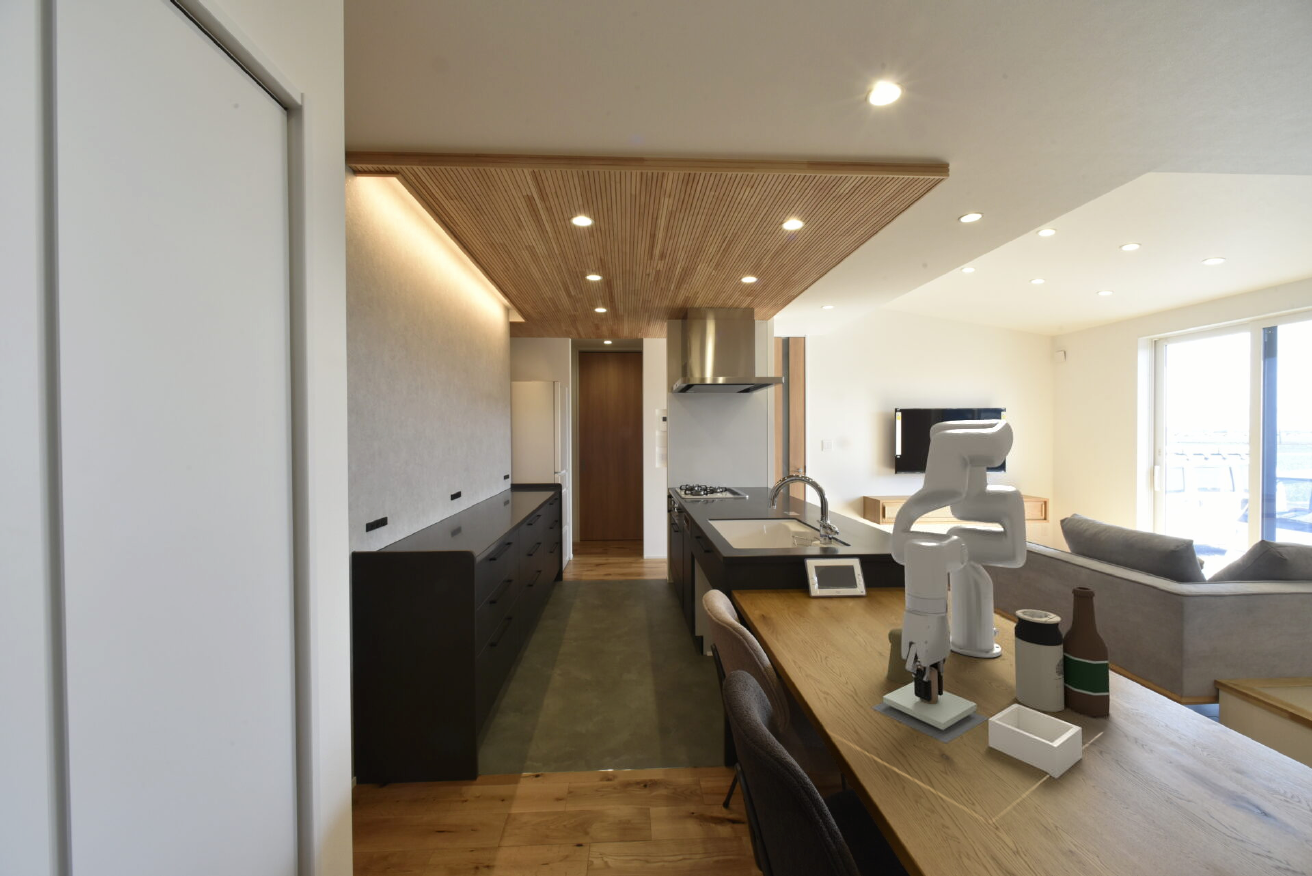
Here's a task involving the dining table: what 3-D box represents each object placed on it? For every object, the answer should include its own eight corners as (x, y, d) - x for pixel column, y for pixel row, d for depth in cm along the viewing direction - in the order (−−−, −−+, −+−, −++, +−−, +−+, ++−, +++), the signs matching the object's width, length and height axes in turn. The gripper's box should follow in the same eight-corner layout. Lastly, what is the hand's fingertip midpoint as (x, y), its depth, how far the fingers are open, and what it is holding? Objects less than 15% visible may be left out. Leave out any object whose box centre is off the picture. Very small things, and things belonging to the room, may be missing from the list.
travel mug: (1007, 698, 108) (1005, 612, 109) (1031, 691, 112) (1029, 606, 112) (1048, 716, 101) (1046, 623, 101) (1073, 708, 104) (1071, 618, 104)
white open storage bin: (1015, 730, 97) (1015, 703, 97) (1082, 757, 88) (1081, 727, 88) (988, 747, 91) (988, 719, 91) (1056, 778, 83) (1055, 746, 83)
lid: (917, 685, 111) (916, 652, 111) (976, 709, 101) (975, 672, 101) (883, 702, 105) (882, 666, 105) (942, 729, 95) (941, 690, 95)
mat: (914, 689, 113) (914, 687, 113) (988, 720, 100) (988, 718, 100) (871, 709, 105) (870, 707, 105) (946, 745, 92) (945, 743, 92)
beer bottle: (1100, 702, 106) (1097, 584, 107) (1120, 721, 99) (1117, 595, 99) (1054, 696, 109) (1052, 581, 109) (1070, 715, 101) (1067, 592, 102)
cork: (919, 686, 114) (918, 636, 114) (890, 684, 116) (889, 634, 116) (912, 674, 120) (911, 626, 120) (884, 672, 121) (883, 625, 122)
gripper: (931, 590, 110) (933, 677, 110) (884, 605, 102) (886, 699, 102) (968, 599, 104) (970, 691, 104) (921, 616, 95) (923, 716, 95)
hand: (928, 694), depth 103 cm, fingers closed on lid, 3 cm apart
